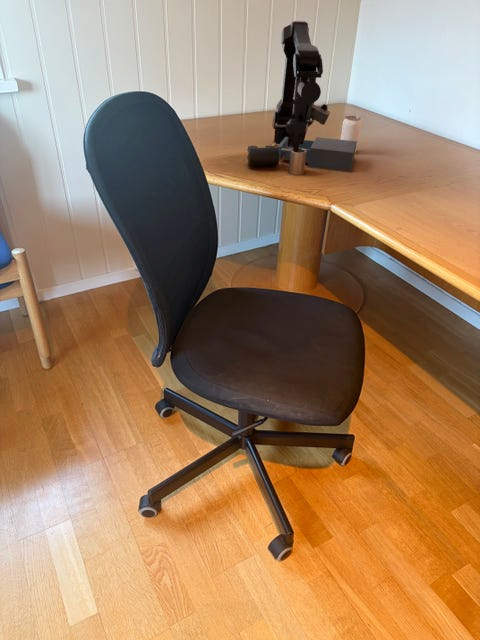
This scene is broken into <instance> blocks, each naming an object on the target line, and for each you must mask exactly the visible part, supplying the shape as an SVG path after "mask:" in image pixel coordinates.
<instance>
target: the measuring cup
mask: <svg viewBox="0 0 480 640" xmlns="http://www.w3.org/2000/svg"><path fill="white" fill-rule="evenodd" d="M281 150H286V151H290V157H289V160H288V170H287V172H288V173H289V174H290V175H293V176H301V175H304V174H305V169H306V162H305V161H306V152H307V150H305V149H303V148H299V150H298V152H294V150H293V148H292V149H286V148H282V149H281Z"/></svg>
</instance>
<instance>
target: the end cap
mask: <svg viewBox="0 0 480 640" xmlns="http://www.w3.org/2000/svg"><path fill="white" fill-rule="evenodd" d="M246 151H247V153H248V154H247V156H246V158H247V166H248V168H249V169H268V168H269V169H271V168H277V167H278V166H279V163H280V160H279V149H278V146H276V147H274V146H272V145H265V146H264V147H258V146H257V145H248V147H247V150H246Z"/></svg>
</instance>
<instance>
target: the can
mask: <svg viewBox="0 0 480 640" xmlns="http://www.w3.org/2000/svg"><path fill="white" fill-rule="evenodd" d="M361 125H362V121H361V117H360V116H355V115H345V116H344V119H343V121H342V126H341V132H340V133H341V134H340V140H348V141H357V144H356V150H355V153H357V150H358V145H359V139H360V132H361Z"/></svg>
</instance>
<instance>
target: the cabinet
mask: <svg viewBox="0 0 480 640" xmlns="http://www.w3.org/2000/svg"><path fill="white" fill-rule="evenodd" d="M313 141H314V142H313V144H312V146H311V147H310V154H309V163H308V162H307V163H308V164H307V167H308V168H314V169H324V170H331V171H341V172H349V173H350V172H351V170H352V167H353V165H354V161H355V156H356V152H355V150H356V144H357V141H348V140H341V139H339V138H329V137H318V136H317V137H316V136H315V139H314V140H313Z"/></svg>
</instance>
